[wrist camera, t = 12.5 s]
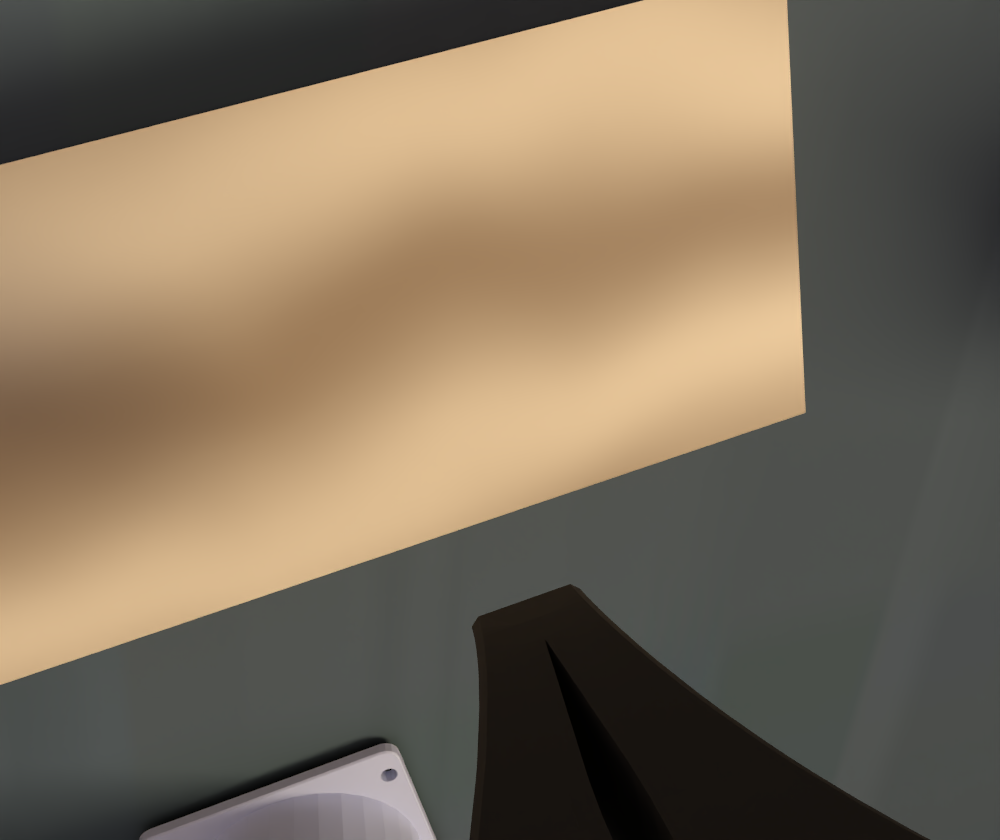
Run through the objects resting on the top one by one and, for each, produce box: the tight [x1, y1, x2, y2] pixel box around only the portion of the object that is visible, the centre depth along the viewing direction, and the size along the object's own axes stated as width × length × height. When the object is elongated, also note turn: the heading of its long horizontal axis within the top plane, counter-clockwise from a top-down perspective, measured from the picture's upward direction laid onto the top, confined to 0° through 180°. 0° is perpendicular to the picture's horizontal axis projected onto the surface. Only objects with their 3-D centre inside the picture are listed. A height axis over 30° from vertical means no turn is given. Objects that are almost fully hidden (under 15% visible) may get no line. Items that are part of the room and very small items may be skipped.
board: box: [0, 0, 805, 685], centre depth 15 cm, size 9×24×4 cm, turn 103°
